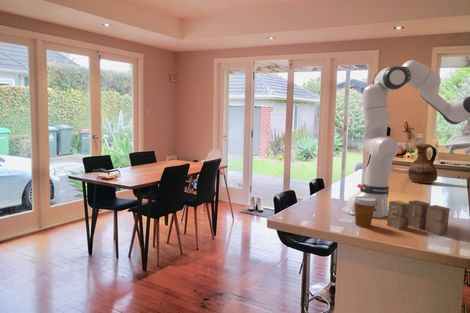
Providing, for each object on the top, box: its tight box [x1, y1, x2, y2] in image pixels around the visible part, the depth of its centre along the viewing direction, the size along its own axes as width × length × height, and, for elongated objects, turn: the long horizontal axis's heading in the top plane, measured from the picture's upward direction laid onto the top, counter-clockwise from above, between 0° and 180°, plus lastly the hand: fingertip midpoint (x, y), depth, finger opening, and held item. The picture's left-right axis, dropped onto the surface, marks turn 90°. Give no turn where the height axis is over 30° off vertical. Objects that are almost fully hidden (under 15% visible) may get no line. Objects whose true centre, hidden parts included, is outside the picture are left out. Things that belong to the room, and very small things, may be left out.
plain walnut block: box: [424, 204, 451, 236], centre depth 159 cm, size 6×6×11 cm
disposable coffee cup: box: [354, 196, 376, 228], centre depth 164 cm, size 10×10×12 cm
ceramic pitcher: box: [407, 143, 438, 184], centre depth 287 cm, size 20×20×30 cm
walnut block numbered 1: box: [408, 200, 431, 230], centre depth 167 cm, size 6×6×11 cm
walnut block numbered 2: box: [386, 200, 410, 230], centre depth 165 cm, size 6×6×11 cm
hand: (457, 153), depth 173 cm, fingers open, 8 cm apart
